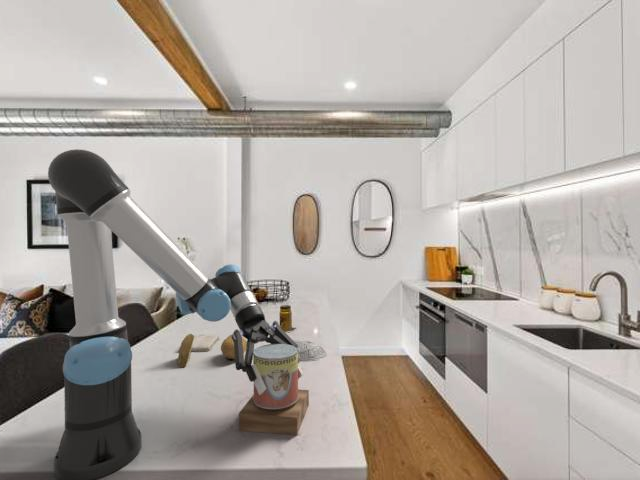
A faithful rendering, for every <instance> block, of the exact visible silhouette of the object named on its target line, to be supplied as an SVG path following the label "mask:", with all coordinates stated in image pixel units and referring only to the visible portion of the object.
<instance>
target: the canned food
mask: <svg viewBox="0 0 640 480" xmlns="http://www.w3.org/2000/svg"><path fill="white" fill-rule="evenodd" d="M252 362H253V363H252V365H253V364H256V367H257V369H258V372H259V373H260V375H261V377H262V380H263V382H264V384H265V386H266V388H267V389H266V390H265V391H264V392H263V394H261V395H259V393H258V391H257V389H256V387H255V384H254V383H253V394H254V398H253V401H254V403H255V404H256V405H257V406H258V407H261V408H264V409H282V408H286V407H289V406H291V405H293V404H294V403H296V402H297V400H298V398H299V396H298V390H299V379H298V364H299V363H298V348H297V347H295V346H293V345H289V344H270V343H267V344H264V345H261V346H258V347H256V348H254V351H253V358H252Z"/></svg>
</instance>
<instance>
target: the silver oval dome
mask: <svg viewBox="0 0 640 480" xmlns="http://www.w3.org/2000/svg"><path fill="white" fill-rule="evenodd" d="M293 341H294V342H295V343H296V344H297V345H298V360H299V363H300V362H303V363H306V362H312V361H320V360H323V359H325V358H327V356H328V354H327V351H326V350H325V348H324V347H323V345H321V344H320V343H317V342H316V341H312V340H309V339H307V340H305V339H301V340H300V339H296V340H294V339H293Z"/></svg>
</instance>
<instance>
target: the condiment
mask: <svg viewBox="0 0 640 480" xmlns="http://www.w3.org/2000/svg"><path fill="white" fill-rule="evenodd" d="M279 307H280V308H279V326H280V327H281V328H282V330H283V331H284V332H285V333H291V332H293V331H294V330H296V329H297V327H293V322H292V321H293V314H292V313H293V312H292V306H291V305H290V304H286V305H285V304H284V305H280V306H279Z"/></svg>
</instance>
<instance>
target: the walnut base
mask: <svg viewBox="0 0 640 480" xmlns="http://www.w3.org/2000/svg"><path fill="white" fill-rule="evenodd" d="M309 394H310V393H309V389H298V396H299V398H298V400H297V402H296V403H294V404H293V405H291V406H289V407H286V408H282V409H264V408H261V407H258V406H257V405H256V404H255V403H254V401H253V398H254V393H253V394H252V396H250V398H249V399H248V401H247V402H246V403H245V405H244V406H243V408H242V409H241V410H240V411H239V413H238V430H239V431H242V432H243V431H244V432H253V433H254V432H255V433H267V434H268V433H269V434H281V435H292V436H295V435H296V436H298V435H299V431H300V429H301V426H302V424H303V421H304V418H305V416H306V413H307V411H308V408H309V405H310V404H309V402H310V398H309V397H310V396H309Z"/></svg>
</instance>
